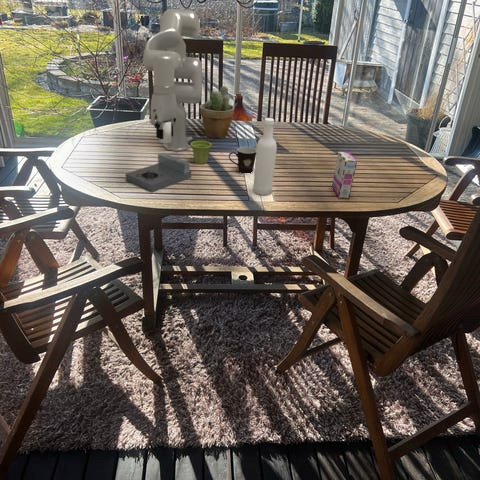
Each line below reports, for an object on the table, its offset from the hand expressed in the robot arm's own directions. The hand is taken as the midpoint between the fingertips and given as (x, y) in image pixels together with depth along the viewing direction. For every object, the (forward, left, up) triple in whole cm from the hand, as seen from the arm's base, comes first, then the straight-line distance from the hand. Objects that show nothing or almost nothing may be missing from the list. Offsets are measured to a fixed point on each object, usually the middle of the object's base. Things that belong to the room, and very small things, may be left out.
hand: (164, 136), depth 180 cm
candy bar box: (-45, +58, -20) cm, 76 cm away
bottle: (-22, +34, -20) cm, 45 cm away
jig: (0, -4, -19) cm, 20 cm away
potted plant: (-64, -28, -20) cm, 73 cm away
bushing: (0, 0, -2) cm, 2 cm away
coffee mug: (-34, +14, -20) cm, 42 cm away
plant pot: (-28, -6, -20) cm, 35 cm away
